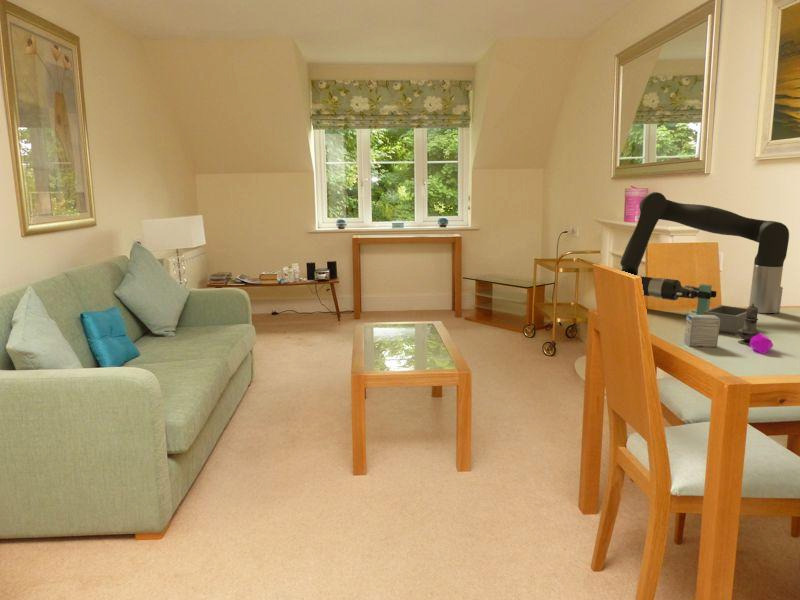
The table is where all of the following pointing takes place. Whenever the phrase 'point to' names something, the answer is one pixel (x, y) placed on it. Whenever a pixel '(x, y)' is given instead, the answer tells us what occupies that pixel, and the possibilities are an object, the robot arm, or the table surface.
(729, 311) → the tub
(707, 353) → the table surface
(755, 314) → the grey chess bishop
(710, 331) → the medicine box
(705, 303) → the lid
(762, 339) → the magenta icosahedron
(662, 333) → the table surface
